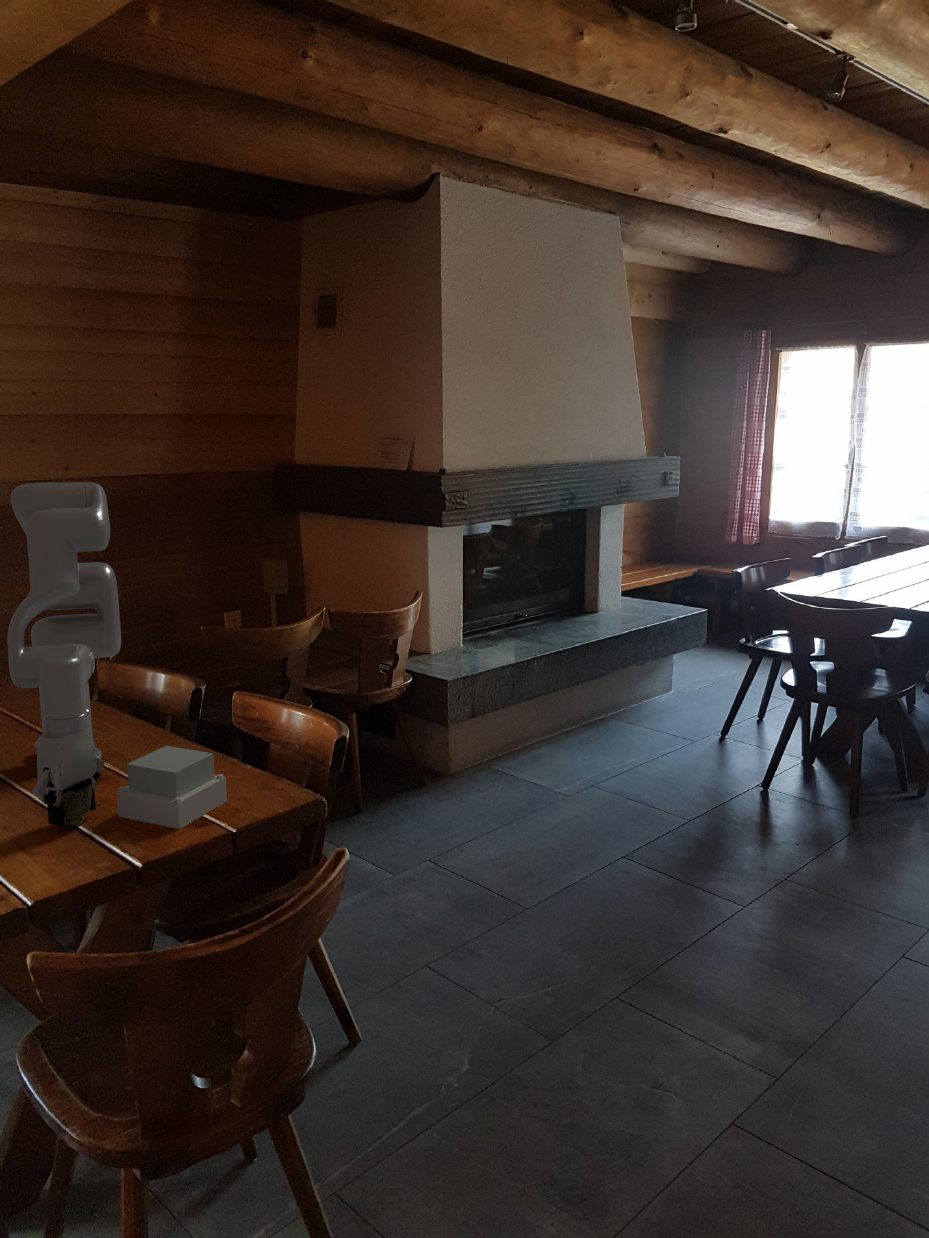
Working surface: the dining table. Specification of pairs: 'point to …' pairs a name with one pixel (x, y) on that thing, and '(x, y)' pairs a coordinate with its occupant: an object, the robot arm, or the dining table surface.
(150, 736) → the dining table surface
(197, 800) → the grey stacking block
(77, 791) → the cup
